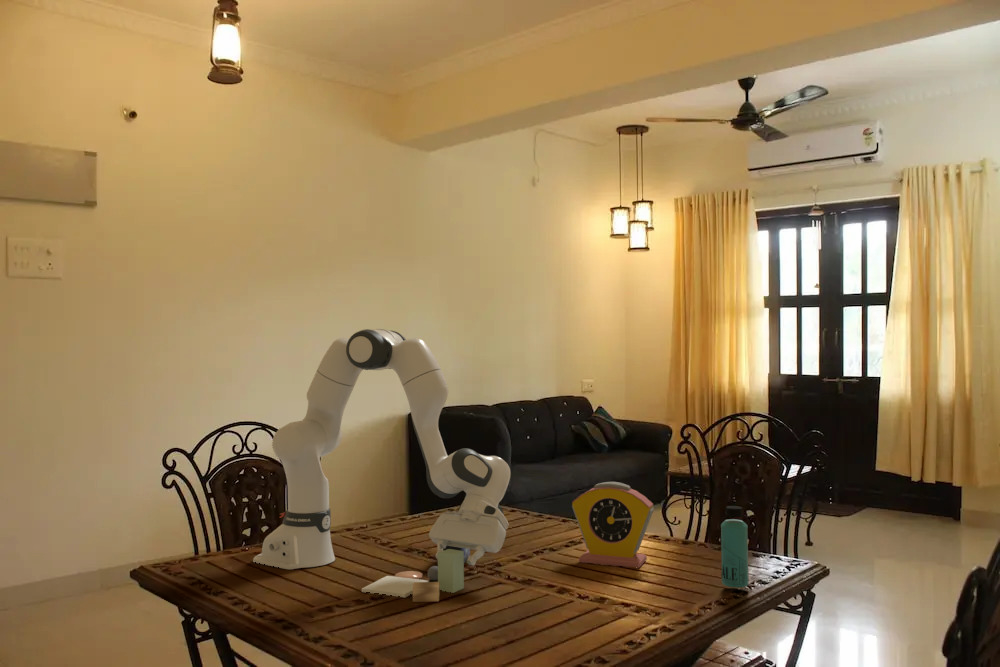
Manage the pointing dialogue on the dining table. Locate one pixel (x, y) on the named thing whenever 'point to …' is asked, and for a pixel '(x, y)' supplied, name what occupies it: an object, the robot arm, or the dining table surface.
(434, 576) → the rubber ball
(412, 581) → the beige mat
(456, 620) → the dining table surface
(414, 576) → the peach flat disc
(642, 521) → the retro mantel clock
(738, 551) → the beverage bottle
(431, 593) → the oak block
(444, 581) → the sage block
